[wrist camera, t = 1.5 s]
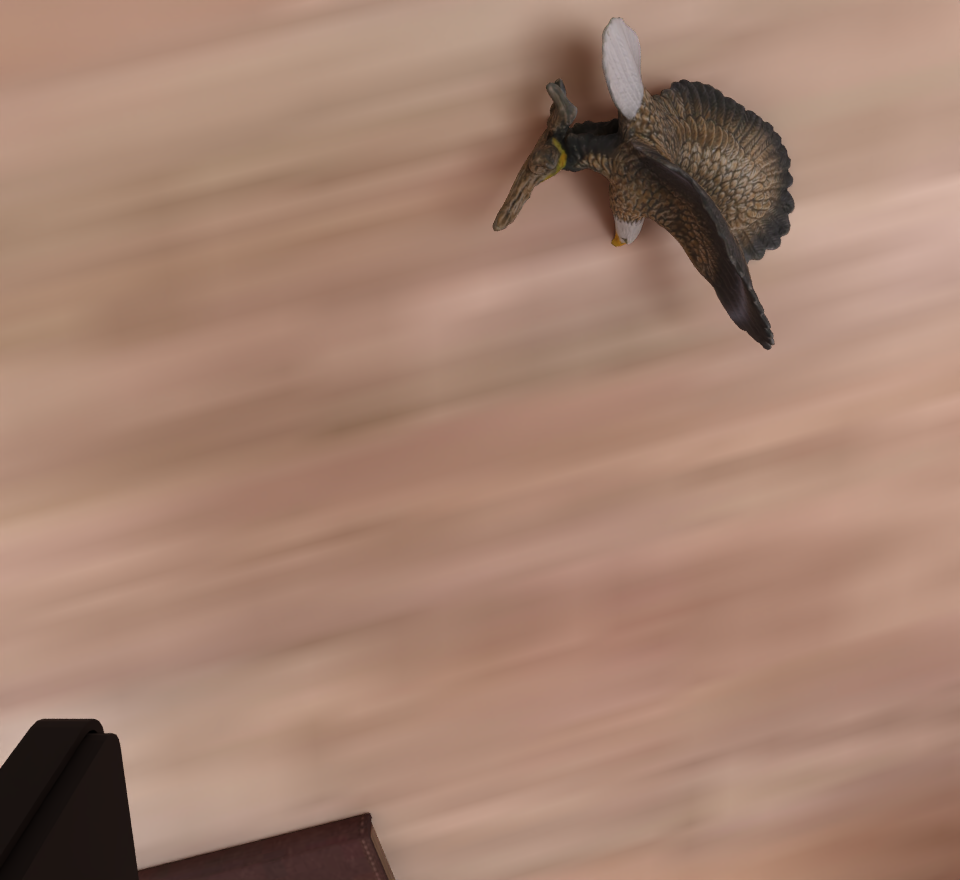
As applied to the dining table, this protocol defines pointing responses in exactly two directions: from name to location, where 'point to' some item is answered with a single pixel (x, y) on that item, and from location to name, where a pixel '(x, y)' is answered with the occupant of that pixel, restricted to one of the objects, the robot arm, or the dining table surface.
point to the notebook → (291, 857)
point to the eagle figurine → (675, 172)
